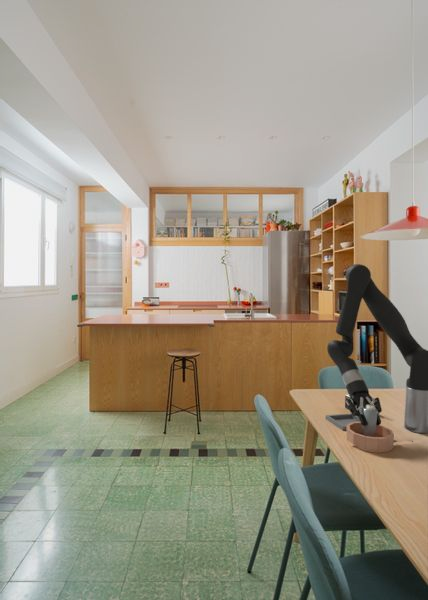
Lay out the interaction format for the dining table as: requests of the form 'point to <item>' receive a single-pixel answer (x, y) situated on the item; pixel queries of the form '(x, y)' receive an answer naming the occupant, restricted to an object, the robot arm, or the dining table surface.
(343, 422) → the parts tray
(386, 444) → the bowl
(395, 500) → the dining table surface
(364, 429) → the pebble cup
